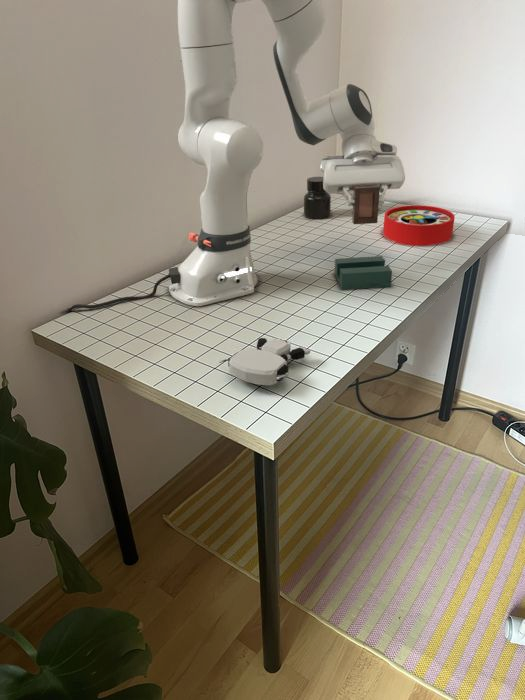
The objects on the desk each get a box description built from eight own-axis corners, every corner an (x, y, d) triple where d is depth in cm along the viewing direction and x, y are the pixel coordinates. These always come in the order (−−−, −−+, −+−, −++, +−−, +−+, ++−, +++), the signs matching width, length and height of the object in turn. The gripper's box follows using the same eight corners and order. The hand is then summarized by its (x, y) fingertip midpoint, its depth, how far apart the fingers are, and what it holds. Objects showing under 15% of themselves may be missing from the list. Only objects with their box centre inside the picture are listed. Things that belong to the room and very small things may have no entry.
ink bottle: (333, 212, 188) (334, 176, 182) (329, 219, 180) (330, 182, 174) (305, 211, 190) (305, 175, 184) (300, 219, 182) (300, 182, 176)
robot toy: (259, 349, 112) (217, 381, 101) (259, 329, 110) (216, 359, 99) (313, 363, 107) (275, 399, 95) (314, 342, 105) (276, 376, 93)
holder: (334, 274, 142) (335, 258, 140) (380, 271, 142) (381, 255, 140) (341, 289, 133) (342, 273, 131) (390, 286, 134) (392, 270, 132)
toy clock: (379, 206, 171) (444, 204, 170) (378, 224, 174) (442, 222, 173) (390, 226, 154) (463, 224, 153) (389, 246, 157) (460, 244, 156)
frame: (352, 222, 140) (353, 186, 136) (375, 220, 141) (377, 185, 136) (353, 224, 139) (355, 188, 134) (377, 223, 139) (379, 187, 134)
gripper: (321, 149, 137) (326, 199, 133) (402, 145, 137) (410, 195, 134) (318, 164, 143) (323, 212, 139) (396, 160, 143) (403, 208, 140)
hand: (366, 204), depth 137 cm, fingers closed on frame, 6 cm apart
